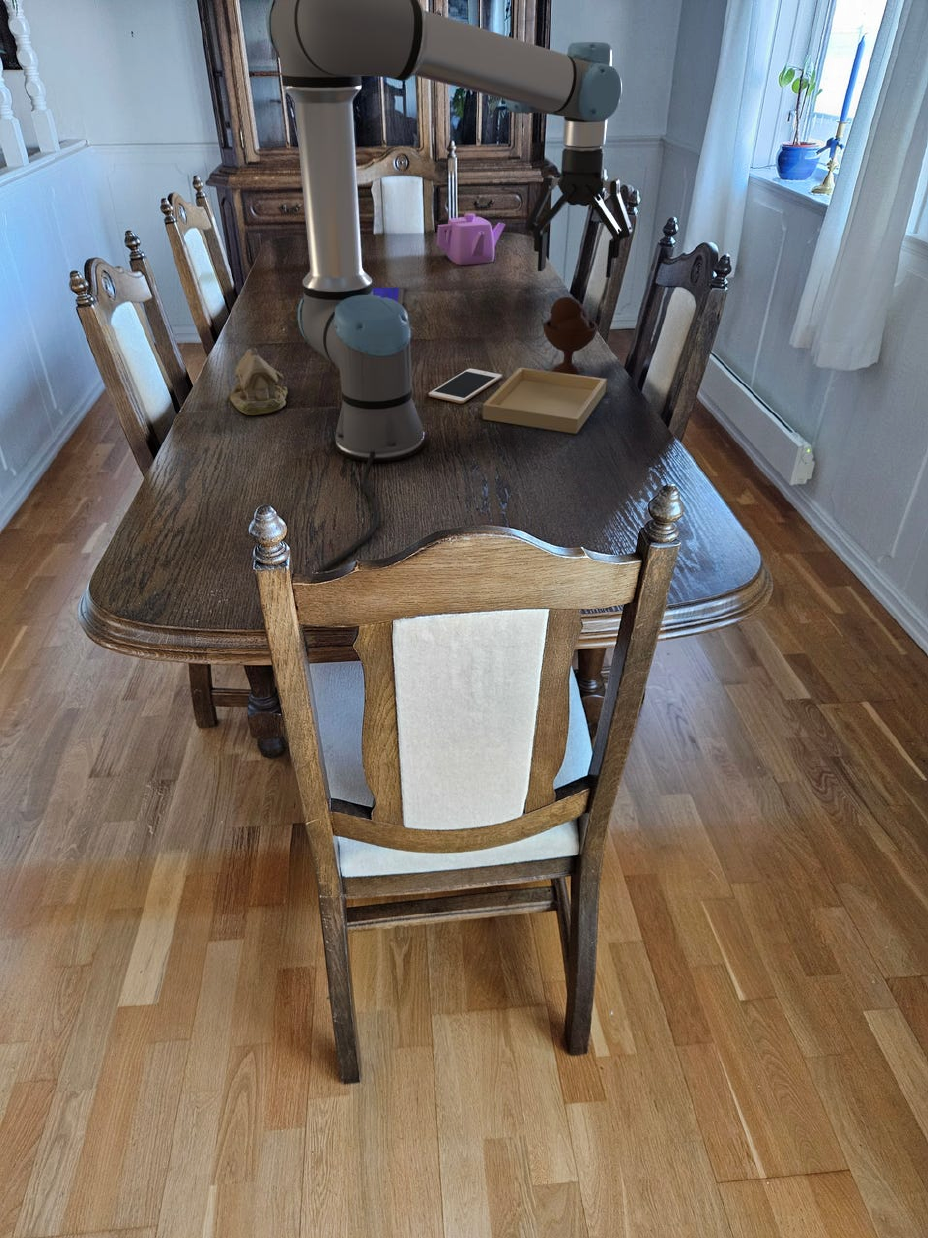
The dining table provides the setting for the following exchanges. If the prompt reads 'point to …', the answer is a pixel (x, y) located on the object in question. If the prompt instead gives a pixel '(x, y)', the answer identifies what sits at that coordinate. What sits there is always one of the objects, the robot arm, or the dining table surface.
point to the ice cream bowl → (569, 331)
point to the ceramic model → (257, 386)
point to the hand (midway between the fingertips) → (575, 272)
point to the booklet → (390, 293)
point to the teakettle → (469, 239)
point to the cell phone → (465, 385)
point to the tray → (545, 400)
